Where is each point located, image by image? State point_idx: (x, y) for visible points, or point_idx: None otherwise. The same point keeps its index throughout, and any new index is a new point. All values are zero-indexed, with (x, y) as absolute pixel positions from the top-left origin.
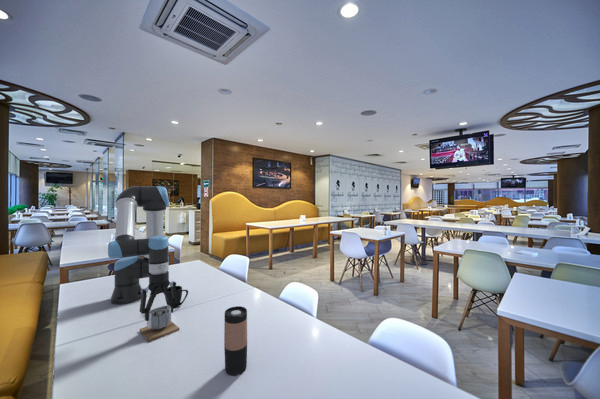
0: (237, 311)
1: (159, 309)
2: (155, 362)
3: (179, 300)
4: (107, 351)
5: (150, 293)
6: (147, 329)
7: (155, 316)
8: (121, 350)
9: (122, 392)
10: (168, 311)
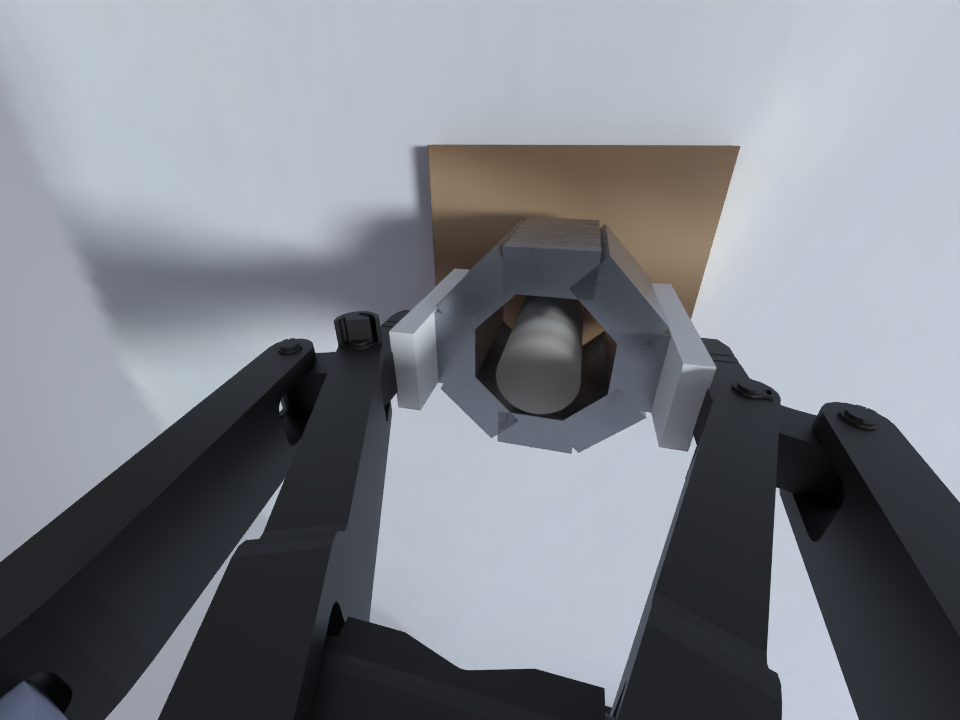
0: None
1: (553, 350)
2: (425, 530)
3: None
4: (244, 272)
5: (226, 582)
6: (478, 217)
7: (475, 401)
8: (310, 327)
9: None
10: (637, 412)
